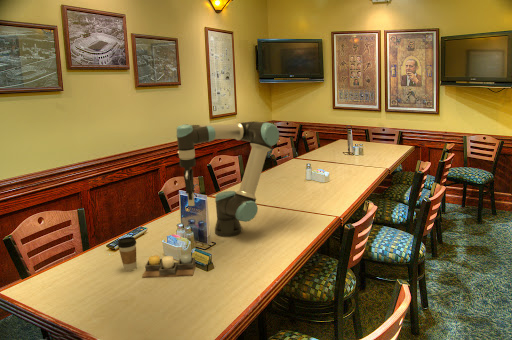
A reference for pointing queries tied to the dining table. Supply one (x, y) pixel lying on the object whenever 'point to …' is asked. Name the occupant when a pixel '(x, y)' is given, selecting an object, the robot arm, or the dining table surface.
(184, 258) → the slate button
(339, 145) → the dining table surface
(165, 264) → the beige round cylinder
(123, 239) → the coffee cup
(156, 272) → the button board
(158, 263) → the mustard button
